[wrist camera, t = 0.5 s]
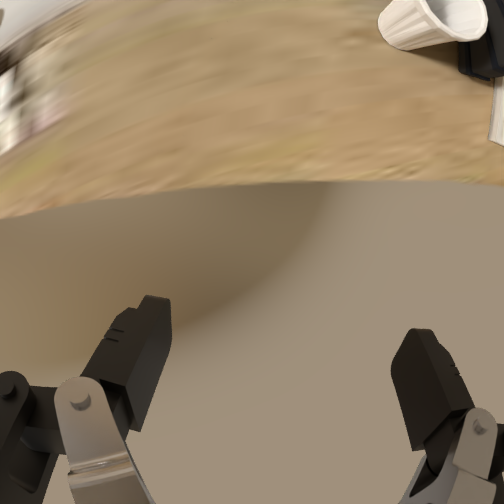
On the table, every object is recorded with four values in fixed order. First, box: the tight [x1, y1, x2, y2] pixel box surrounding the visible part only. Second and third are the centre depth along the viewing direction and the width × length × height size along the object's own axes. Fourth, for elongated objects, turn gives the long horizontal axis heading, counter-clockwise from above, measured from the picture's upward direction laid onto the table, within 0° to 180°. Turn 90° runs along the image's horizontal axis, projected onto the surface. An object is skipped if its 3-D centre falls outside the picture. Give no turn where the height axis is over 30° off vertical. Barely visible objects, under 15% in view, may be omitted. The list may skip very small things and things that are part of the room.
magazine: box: [459, 0, 504, 81], centre depth 20 cm, size 4×13×15 cm, turn 1°
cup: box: [378, 0, 488, 51], centre depth 21 cm, size 8×8×14 cm
